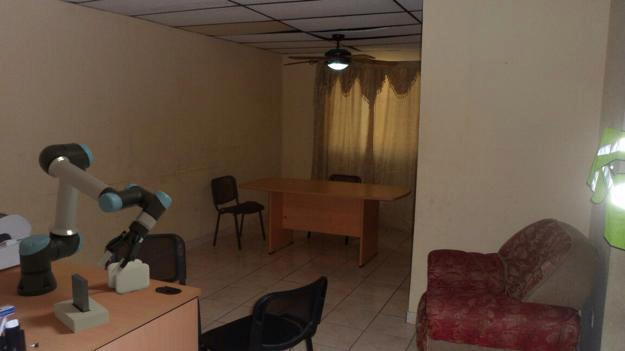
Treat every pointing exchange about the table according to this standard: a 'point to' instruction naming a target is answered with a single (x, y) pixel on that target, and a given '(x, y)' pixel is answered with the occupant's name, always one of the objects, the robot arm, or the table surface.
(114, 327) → the table surface
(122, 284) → the cable organizer
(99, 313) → the slotted box
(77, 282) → the cover plate
